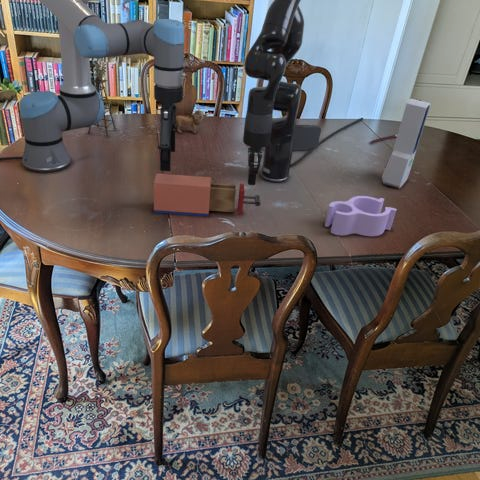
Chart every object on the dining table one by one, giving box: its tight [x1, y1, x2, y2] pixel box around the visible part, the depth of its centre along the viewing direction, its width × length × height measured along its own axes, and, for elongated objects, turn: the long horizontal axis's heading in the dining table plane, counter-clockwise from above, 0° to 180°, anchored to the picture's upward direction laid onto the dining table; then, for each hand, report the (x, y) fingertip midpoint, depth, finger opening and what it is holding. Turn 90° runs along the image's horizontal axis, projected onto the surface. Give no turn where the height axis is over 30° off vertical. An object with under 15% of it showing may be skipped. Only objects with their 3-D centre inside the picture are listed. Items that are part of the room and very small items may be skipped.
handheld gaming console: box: [291, 124, 322, 152], centre depth 189 cm, size 23×3×10 cm, turn 108°
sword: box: [370, 133, 398, 145], centre depth 214 cm, size 31×3×1 cm, turn 126°
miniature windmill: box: [87, 57, 117, 137], centre depth 181 cm, size 9×8×30 cm
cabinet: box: [153, 173, 212, 217], centre depth 139 cm, size 16×6×10 cm, turn 92°
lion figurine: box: [173, 109, 204, 134], centre depth 195 cm, size 15×5×9 cm, turn 110°
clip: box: [324, 195, 398, 237], centre depth 141 cm, size 20×12×7 cm, turn 109°
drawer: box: [209, 182, 261, 216], centre depth 140 cm, size 20×5×8 cm, turn 92°
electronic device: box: [381, 98, 432, 189], centre depth 166 cm, size 12×8×30 cm, turn 148°
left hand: (167, 160), depth 133 cm, fingers open, 13 cm apart
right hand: (251, 183), depth 138 cm, fingers closed
